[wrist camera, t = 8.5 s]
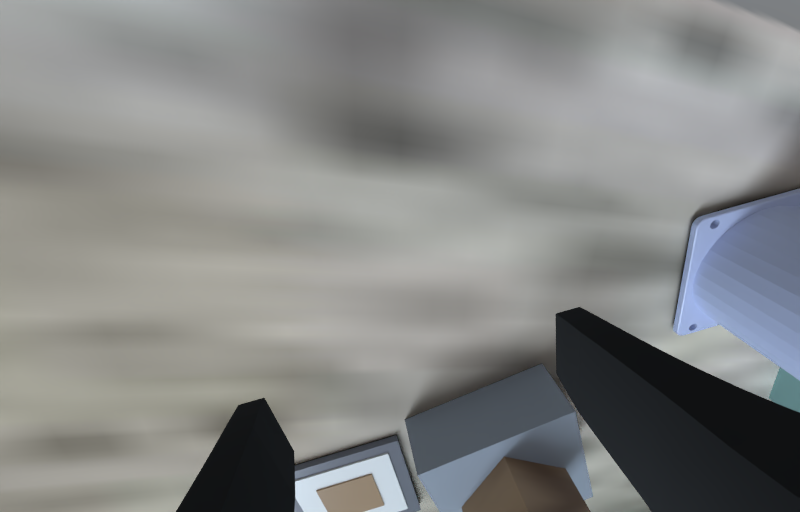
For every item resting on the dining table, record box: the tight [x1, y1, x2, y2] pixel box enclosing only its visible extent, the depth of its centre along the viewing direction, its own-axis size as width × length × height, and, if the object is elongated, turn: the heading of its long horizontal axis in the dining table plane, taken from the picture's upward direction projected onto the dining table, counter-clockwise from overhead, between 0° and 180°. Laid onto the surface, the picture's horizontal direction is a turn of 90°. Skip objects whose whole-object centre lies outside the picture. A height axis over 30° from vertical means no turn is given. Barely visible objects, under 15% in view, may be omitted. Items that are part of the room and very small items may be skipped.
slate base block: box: [405, 364, 593, 512], centre depth 25 cm, size 9×9×4 cm
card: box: [294, 435, 421, 512], centre depth 26 cm, size 8×8×1 cm
